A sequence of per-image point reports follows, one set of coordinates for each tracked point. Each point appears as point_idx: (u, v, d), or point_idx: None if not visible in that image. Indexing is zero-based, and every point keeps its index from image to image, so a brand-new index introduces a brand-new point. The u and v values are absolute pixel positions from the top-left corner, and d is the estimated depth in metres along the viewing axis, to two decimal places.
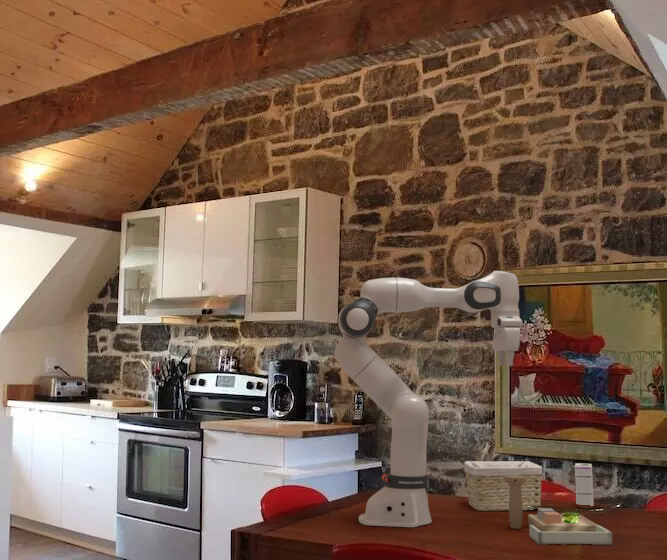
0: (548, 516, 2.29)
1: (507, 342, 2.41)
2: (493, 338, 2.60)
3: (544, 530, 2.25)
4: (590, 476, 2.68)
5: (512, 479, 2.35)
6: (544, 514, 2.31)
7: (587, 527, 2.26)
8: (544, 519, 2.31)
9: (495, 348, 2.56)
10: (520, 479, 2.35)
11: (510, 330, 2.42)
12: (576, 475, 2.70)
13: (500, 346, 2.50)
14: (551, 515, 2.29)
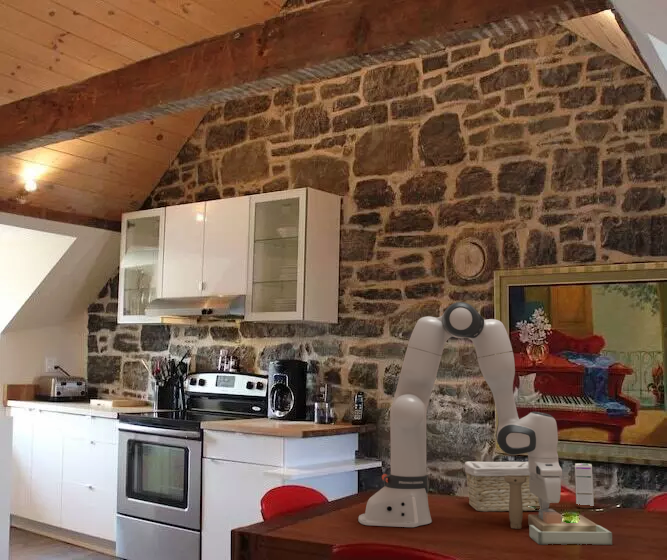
0: (548, 516, 2.29)
1: (547, 494, 2.30)
2: (529, 478, 2.49)
3: (544, 530, 2.25)
4: (590, 476, 2.68)
5: (512, 479, 2.35)
6: (544, 514, 2.31)
7: (587, 527, 2.26)
8: (544, 519, 2.31)
9: (532, 491, 2.45)
10: (520, 479, 2.35)
11: (551, 481, 2.31)
12: (576, 475, 2.70)
13: (538, 493, 2.38)
14: (551, 515, 2.29)
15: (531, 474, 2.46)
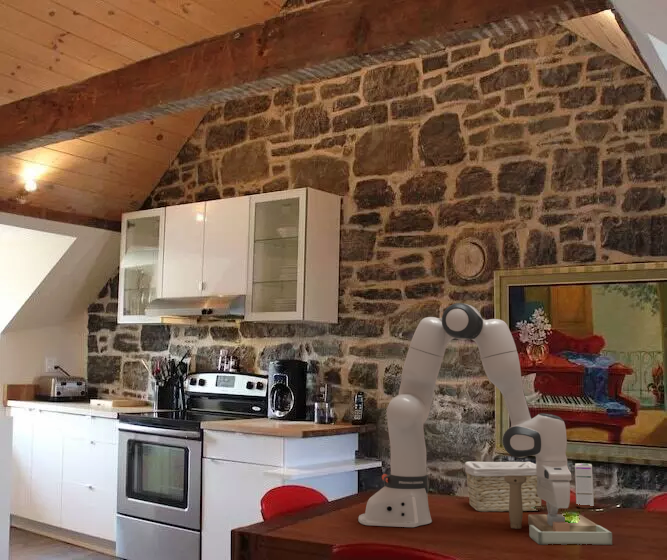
0: None
1: (556, 499, 2.21)
2: (537, 482, 2.40)
3: (544, 530, 2.25)
4: (590, 476, 2.68)
5: (512, 479, 2.35)
6: (555, 528, 2.22)
7: (587, 527, 2.26)
8: (553, 527, 2.23)
9: (540, 495, 2.37)
10: (520, 479, 2.35)
11: (560, 486, 2.22)
12: (576, 475, 2.70)
13: (546, 497, 2.30)
14: None
15: (539, 478, 2.38)
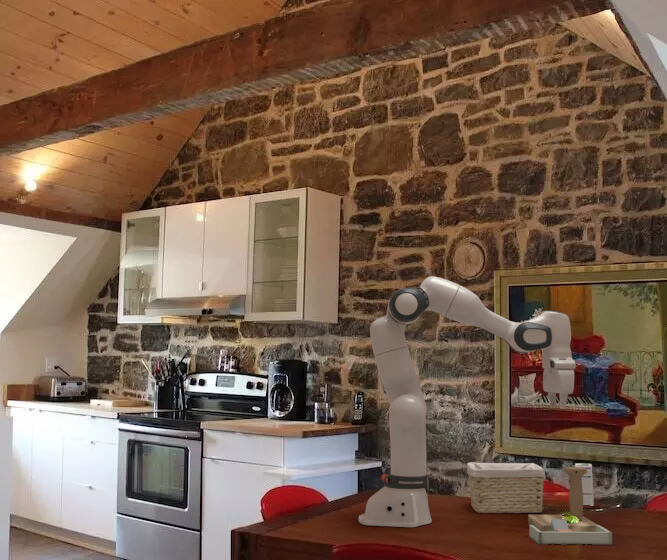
0: None
1: (561, 385, 2.37)
2: (543, 378, 2.56)
3: (544, 530, 2.25)
4: (590, 476, 2.68)
5: (573, 470, 2.33)
6: None
7: (587, 527, 2.26)
8: None
9: (546, 389, 2.53)
10: (581, 470, 2.33)
11: (564, 373, 2.38)
12: None
13: (552, 388, 2.46)
14: None
15: (545, 373, 2.54)
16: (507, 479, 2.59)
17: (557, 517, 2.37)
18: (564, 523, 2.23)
